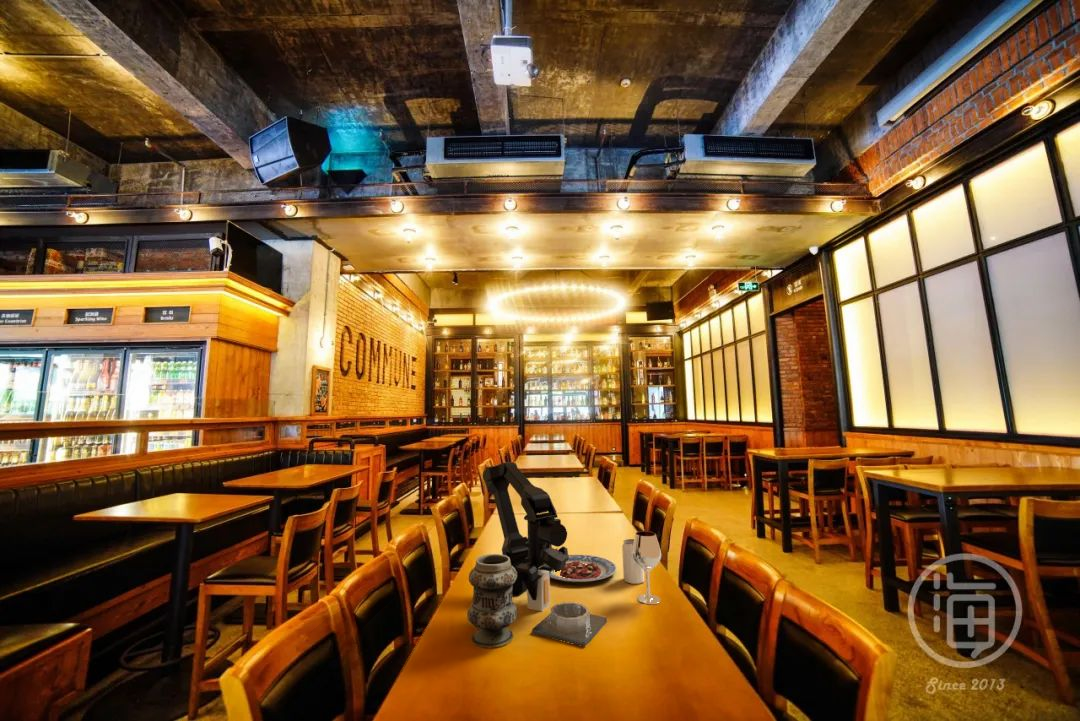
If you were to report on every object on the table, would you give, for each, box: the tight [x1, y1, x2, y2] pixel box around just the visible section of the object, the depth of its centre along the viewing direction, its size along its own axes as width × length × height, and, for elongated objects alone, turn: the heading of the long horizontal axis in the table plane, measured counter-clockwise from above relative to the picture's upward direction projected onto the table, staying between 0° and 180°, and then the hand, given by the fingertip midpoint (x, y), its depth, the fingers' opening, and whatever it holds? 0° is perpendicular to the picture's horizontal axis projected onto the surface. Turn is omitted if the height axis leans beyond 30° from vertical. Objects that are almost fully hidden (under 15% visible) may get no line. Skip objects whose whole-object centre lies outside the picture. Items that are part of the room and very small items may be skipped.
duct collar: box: [531, 601, 608, 648], centre depth 107 cm, size 14×14×4 cm
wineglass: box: [632, 530, 662, 605], centre depth 123 cm, size 8×8×18 cm
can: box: [621, 538, 645, 585], centre depth 137 cm, size 6×6×12 cm
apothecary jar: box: [466, 553, 518, 649], centre depth 104 cm, size 12×12×18 cm
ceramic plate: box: [549, 554, 617, 583], centre depth 145 cm, size 26×26×3 cm
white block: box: [526, 569, 551, 612], centre depth 119 cm, size 5×5×9 cm
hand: (538, 596), depth 119 cm, fingers closed on white block, 5 cm apart
